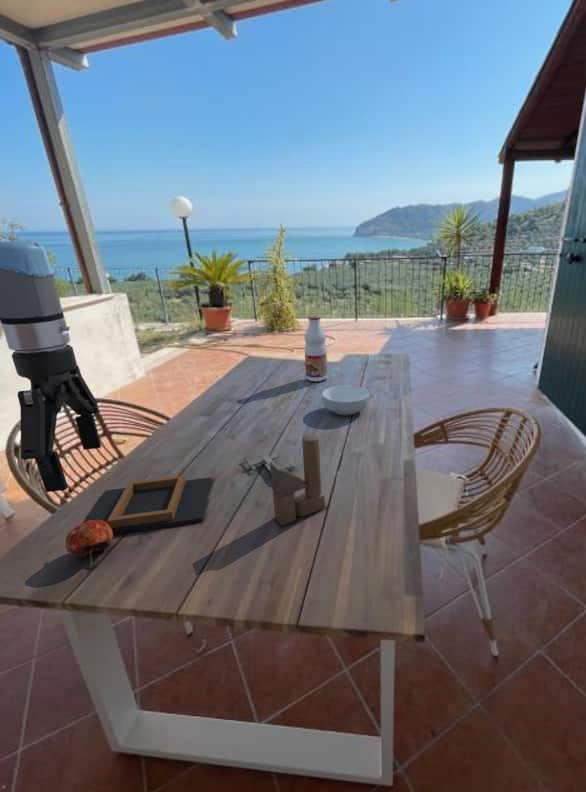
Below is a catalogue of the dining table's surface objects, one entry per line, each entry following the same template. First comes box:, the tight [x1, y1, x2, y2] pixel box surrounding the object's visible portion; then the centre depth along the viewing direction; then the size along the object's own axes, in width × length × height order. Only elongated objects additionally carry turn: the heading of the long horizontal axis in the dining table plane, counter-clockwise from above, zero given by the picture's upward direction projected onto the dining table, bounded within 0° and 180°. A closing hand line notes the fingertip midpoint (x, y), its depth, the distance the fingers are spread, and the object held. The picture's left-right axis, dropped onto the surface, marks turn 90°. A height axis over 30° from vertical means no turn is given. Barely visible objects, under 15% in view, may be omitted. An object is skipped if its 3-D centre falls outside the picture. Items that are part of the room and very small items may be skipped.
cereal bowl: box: [321, 385, 370, 416], centre depth 139 cm, size 17×17×7 cm
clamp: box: [243, 455, 295, 474], centre depth 103 cm, size 15×2×10 cm
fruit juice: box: [303, 315, 328, 378], centre depth 168 cm, size 9×9×28 cm
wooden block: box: [270, 433, 326, 526], centre depth 84 cm, size 4×11×18 cm, turn 125°
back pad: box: [84, 475, 212, 536], centre depth 88 cm, size 24×16×3 cm, turn 103°
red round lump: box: [65, 514, 114, 569], centre depth 74 cm, size 7×7×10 cm
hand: (76, 467), depth 67 cm, fingers open, 13 cm apart
